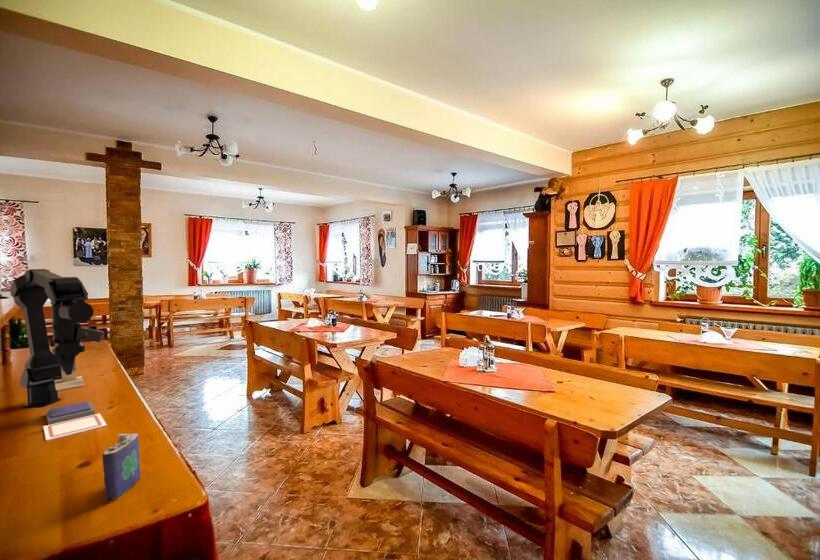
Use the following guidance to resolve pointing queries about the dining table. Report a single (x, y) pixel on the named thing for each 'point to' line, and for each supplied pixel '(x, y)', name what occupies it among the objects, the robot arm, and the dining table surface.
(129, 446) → the flask
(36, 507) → the dining table surface
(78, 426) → the print card
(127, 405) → the dining table surface
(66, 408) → the ink pad
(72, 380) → the stamp
